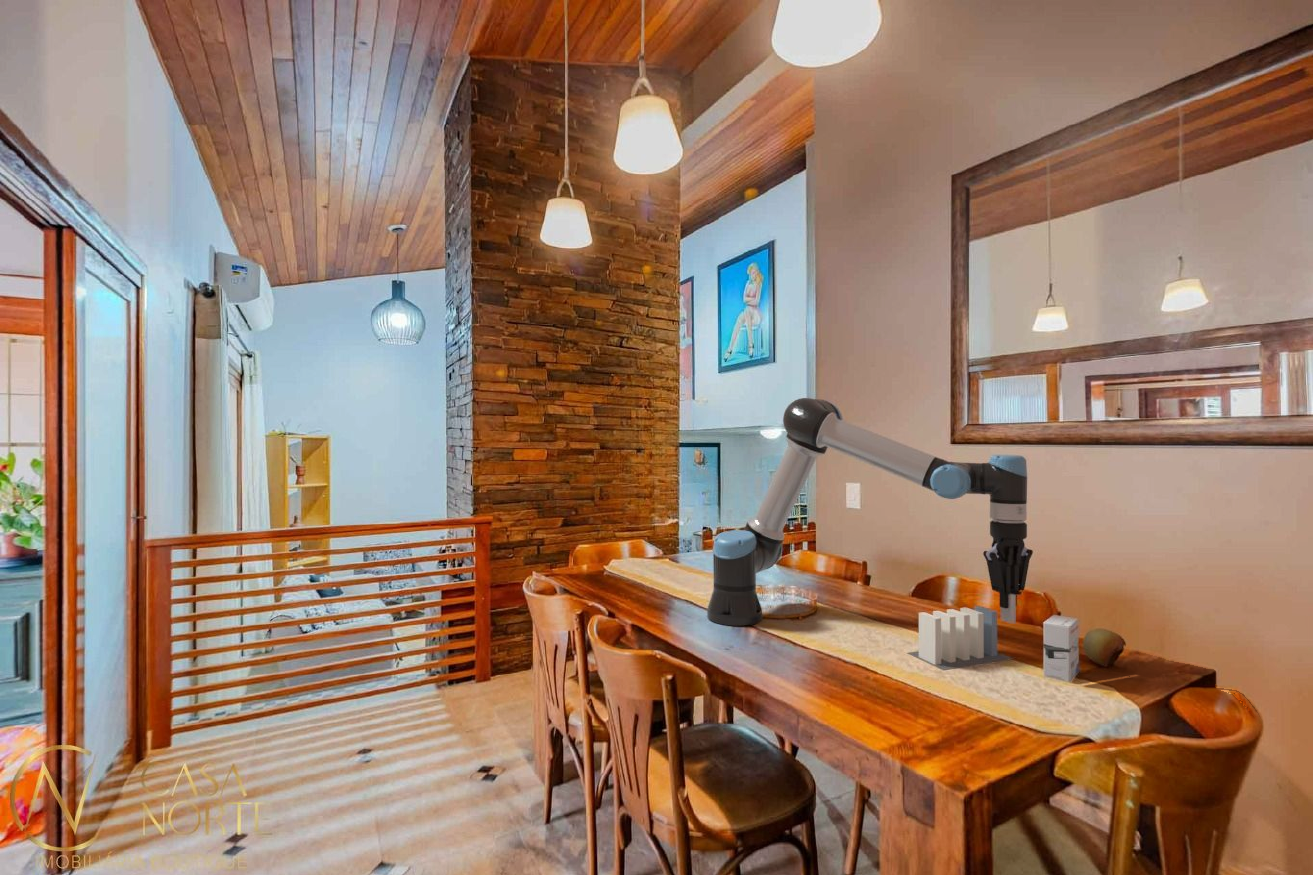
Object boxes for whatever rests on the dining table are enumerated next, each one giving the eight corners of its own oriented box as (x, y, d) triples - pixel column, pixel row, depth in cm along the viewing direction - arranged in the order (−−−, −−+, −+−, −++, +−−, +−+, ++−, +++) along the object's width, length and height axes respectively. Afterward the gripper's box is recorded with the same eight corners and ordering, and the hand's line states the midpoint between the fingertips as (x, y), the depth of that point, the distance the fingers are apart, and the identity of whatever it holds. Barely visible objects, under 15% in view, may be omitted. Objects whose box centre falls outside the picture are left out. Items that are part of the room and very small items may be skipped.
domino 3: (964, 660, 136) (964, 615, 136) (946, 653, 140) (946, 609, 140) (969, 659, 136) (969, 614, 136) (952, 652, 141) (952, 608, 141)
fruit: (1121, 662, 135) (1121, 626, 135) (1129, 675, 128) (1129, 637, 128) (1080, 657, 139) (1080, 622, 139) (1085, 669, 132) (1085, 632, 132)
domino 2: (949, 662, 134) (949, 617, 134) (932, 655, 139) (932, 611, 139) (955, 661, 135) (955, 616, 135) (938, 654, 140) (938, 610, 140)
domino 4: (978, 658, 137) (978, 613, 137) (960, 651, 142) (960, 608, 142) (983, 657, 138) (983, 613, 138) (965, 650, 142) (965, 607, 142)
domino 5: (991, 656, 138) (991, 612, 138) (973, 649, 143) (973, 606, 143) (997, 655, 139) (997, 611, 139) (979, 648, 144) (979, 605, 144)
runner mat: (906, 654, 141) (906, 652, 141) (974, 645, 147) (974, 643, 147) (943, 672, 130) (943, 670, 130) (1014, 661, 137) (1014, 659, 137)
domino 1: (935, 664, 133) (935, 619, 133) (918, 657, 138) (918, 612, 138) (941, 664, 134) (941, 618, 134) (924, 656, 138) (924, 612, 138)
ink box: (1052, 667, 133) (1052, 613, 133) (1080, 673, 129) (1080, 618, 129) (1042, 678, 127) (1042, 621, 127) (1070, 685, 123) (1070, 626, 123)
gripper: (1000, 524, 137) (1000, 628, 138) (1043, 521, 142) (1043, 623, 142) (973, 519, 145) (973, 619, 145) (1015, 517, 149) (1015, 614, 149)
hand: (1008, 621), depth 143 cm, fingers closed
